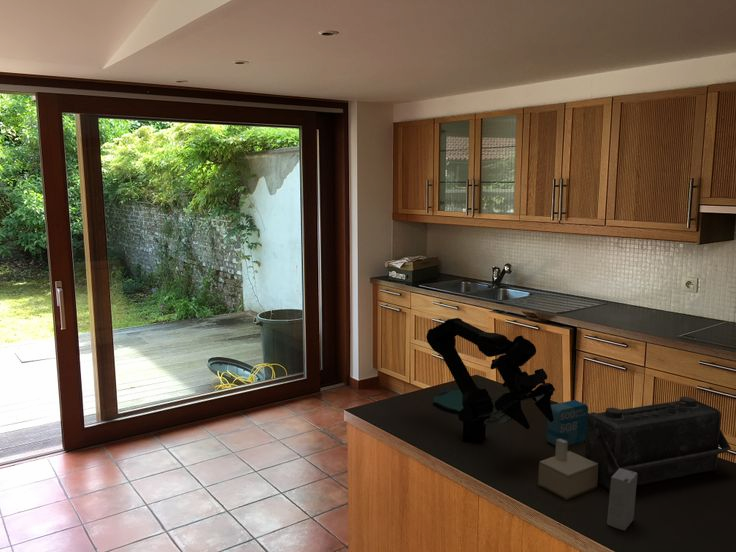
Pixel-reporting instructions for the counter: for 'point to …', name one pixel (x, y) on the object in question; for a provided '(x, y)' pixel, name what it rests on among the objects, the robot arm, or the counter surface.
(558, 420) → the data package
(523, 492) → the counter surface
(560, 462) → the lid
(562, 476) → the carton
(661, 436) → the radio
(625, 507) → the skincare box
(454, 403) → the cutlery set
